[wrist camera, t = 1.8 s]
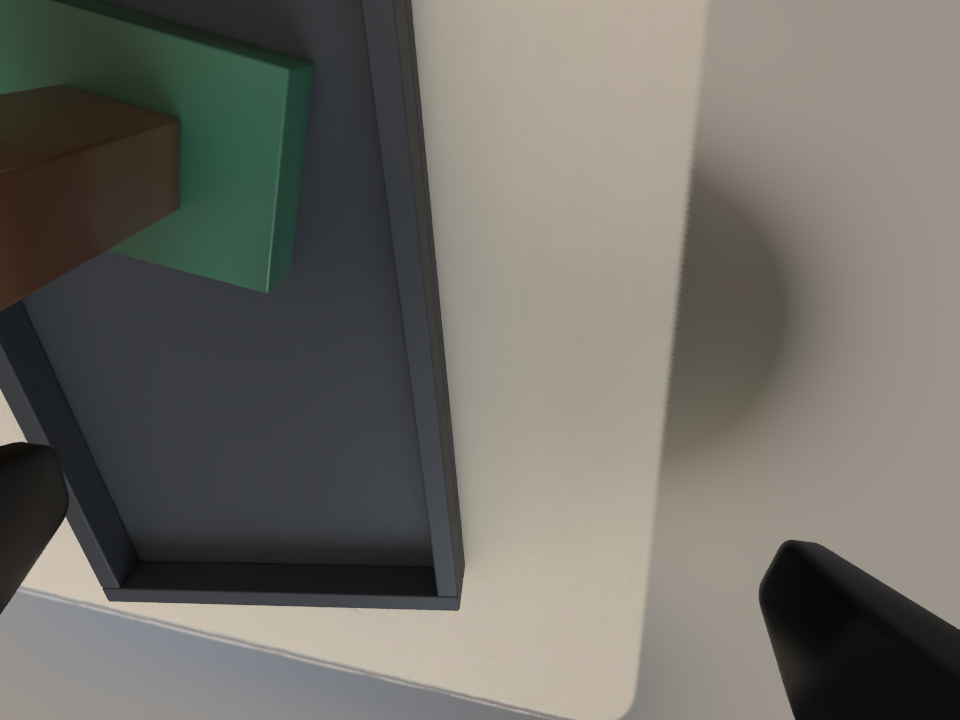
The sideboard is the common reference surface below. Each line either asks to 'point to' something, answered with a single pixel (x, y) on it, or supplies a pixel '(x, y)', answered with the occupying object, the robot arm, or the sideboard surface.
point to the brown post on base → (144, 146)
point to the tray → (267, 364)
